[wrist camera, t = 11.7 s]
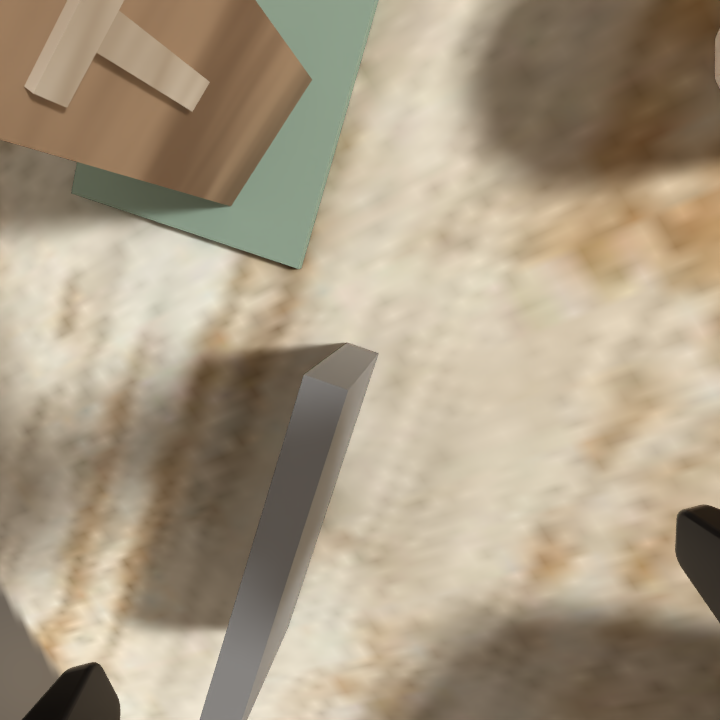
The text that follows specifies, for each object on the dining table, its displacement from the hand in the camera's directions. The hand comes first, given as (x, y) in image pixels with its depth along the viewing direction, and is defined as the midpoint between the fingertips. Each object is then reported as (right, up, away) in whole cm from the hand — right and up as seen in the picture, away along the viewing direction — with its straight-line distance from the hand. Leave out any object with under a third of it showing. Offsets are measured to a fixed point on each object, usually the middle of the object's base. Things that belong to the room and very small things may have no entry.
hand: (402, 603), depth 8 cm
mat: (-6, +13, +11) cm, 17 cm away
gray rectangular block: (-2, -2, +12) cm, 13 cm away
